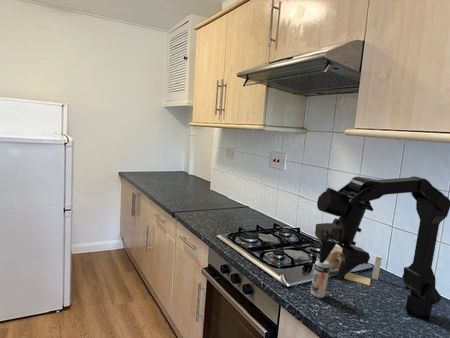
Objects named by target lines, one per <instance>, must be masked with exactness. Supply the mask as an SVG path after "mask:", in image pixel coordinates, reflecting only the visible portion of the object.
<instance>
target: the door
mask: <svg viewBox="0 0 450 338" xmlns="http://www.w3.org/2000/svg"><path fill="white" fill-rule="evenodd" d="M340 254H343V253H342V250H338V251H332V252H331V253H330V254H329V256H328V257H327V259H326V260H327V261H328V262H329V265H330V269H329V271H331V270H335V269H339V267H340V264H341V261H342V259H341V256H340ZM331 272H332V271H331Z"/></svg>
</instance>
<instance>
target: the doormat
mask: <svg viewBox="0 0 450 338" xmlns="http://www.w3.org/2000/svg"><path fill="white" fill-rule="evenodd" d="M343 277H344V279H345V280H348V281H350V282H354V283H358V284H361V285H364V286H368V287H370V286H371V279H372V278H369V277H366V276H363V275H360V274H356V273H353V272H349V273H347V274H346V275H345V276H343Z"/></svg>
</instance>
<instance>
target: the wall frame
mask: <svg viewBox="0 0 450 338" xmlns="http://www.w3.org/2000/svg"><path fill="white" fill-rule="evenodd" d="M342 249H343V248H341V247H340V246H339V245H337V244H336V245H335V247H334V248H333V250H332V251H338V250H342ZM332 251H331V252H332ZM382 260H383V257H382V256H380V255H375V260H374V266H373V270H372V277H371V279H373V280H377V281H378V280H379V276H380V275H379V274H380V270H381V265H382Z"/></svg>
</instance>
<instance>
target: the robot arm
mask: <svg viewBox="0 0 450 338" xmlns="http://www.w3.org/2000/svg"><path fill="white" fill-rule="evenodd" d="M408 193H411V196H412V197H413V199H414V200H415V201H416V203H415V207H416V208H415V209H416V213H417V215H418V217H419V218H418V219H419V225H418V231H417V237H416V241H415V242H416V244H415V248H414V249H415V250H414V255H413V259H412V263H411V264H410V265H409V266H404V267H403V274H402V277H401V278H402V280H403V284H404V288H405V290H408V291H409V292H408V293H409V294H406V296H405V302H404V309H405V311H406V315H408V316H411V317H414V318H417V319H420V320H424V321H426V322H430V323H431V321H432V319H431V314H432V310H433V306H434V305H436V304H439V303H440V301H441V299H442V296H441V294H440V293H439V291H438V290H437V289H436V279H437V278H436V276H435V274H434V271H433V268H432V266H433V261H434V257H435V252H436V251H435V250H436V244H437V239H438V238H437V237H438V234H439V228H440V224H441V223H442V222H443V221H444V220H445V219H446V218H447V217H448V214H449V212H450V198H449V197H448V196H446V195H445V194H444V193H443V192H441V191H440V190H439V189H438V188H436V187H435V186H433V185H432V183H431V182H430V181H429V180H428V179H426V178H423V177H420V176H414V175H413V176H409V177H399V178H398V177H397V178H386V179H385V178H383V179H377V178H376V179H375V178H370V177H364V176H354V177H352V178H351V180H350V181H349V182H348V183H347V184H345V185H344V186H343V187H341V188H340V189H339V190H335V189H334V188H331V187H327V188H326V190H325V191H323V192H322V193H321V194H320V195H319V196H318V198H317V203H316V207H317V209H318V210H319V211H320V212H323V213H325V214H328V215H332V216H335V218H334V219H333V221H332V222H324V223H316V224H315V230H314V235H315V237H316V238H317V240H318V241H319V247H320V248H319V259H320V260H319V262H320V263H323V262H324V261H325V260H326V259H327V257H328V256H329V254H330V253H331V251H332V250H333V248H334V247H335V245H338V246H340V247H341V248H343V249H342V253H343V254H340V256H341V259H342V261H341V264H340V267H339V270H337V274H336V278H337V279H340V280H341V279H342V278H343V277H345V275H346V274H347V273H348V272H349V273H351V271H352V270H353V269H355V268H358V266H359V265H364V264H366V265H368V264H369V261H370V258H371V256H370V253H369V252H367V251H366V250H364V249H363V248H361V247H358V246H356V245H357V242H356V241H354V240H355V237H356V234H357V232H358V233H361V232H362V228H361V227H360V226H361V223H362V220H363V217H364V216H365V213H366V212H367V211H371V212H373V211H374V208H373V206H372V204H371V201H374V200H375V201H376V200H378V199H380V198H382V197H383V196H386V195H394V194H408ZM337 217H338V218H337Z"/></svg>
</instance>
